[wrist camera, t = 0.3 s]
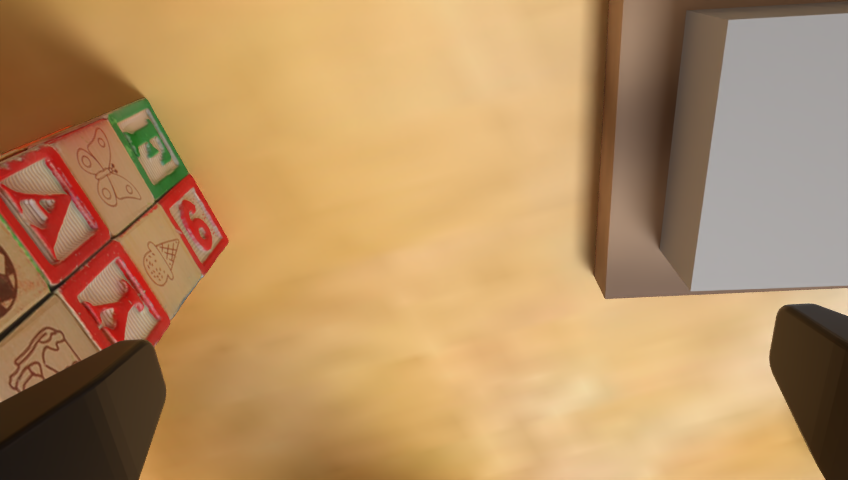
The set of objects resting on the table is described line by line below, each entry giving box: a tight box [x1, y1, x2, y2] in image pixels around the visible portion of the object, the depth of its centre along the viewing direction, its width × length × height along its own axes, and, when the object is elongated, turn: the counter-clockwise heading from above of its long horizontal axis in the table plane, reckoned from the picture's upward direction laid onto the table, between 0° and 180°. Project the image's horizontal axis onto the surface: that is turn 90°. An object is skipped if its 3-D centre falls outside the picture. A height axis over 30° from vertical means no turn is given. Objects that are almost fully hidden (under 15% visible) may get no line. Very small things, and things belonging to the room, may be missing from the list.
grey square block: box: [660, 1, 848, 291], centre depth 19 cm, size 8×8×3 cm
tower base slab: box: [594, 0, 848, 299], centre depth 21 cm, size 12×12×2 cm
